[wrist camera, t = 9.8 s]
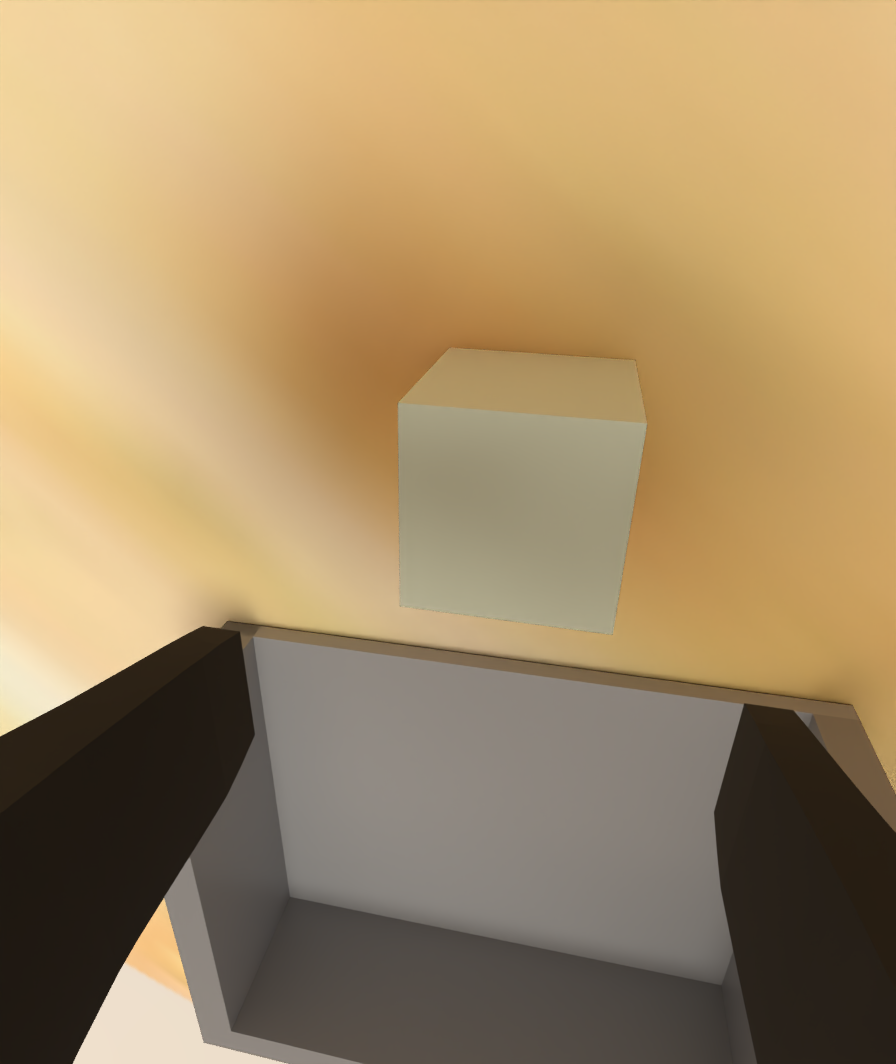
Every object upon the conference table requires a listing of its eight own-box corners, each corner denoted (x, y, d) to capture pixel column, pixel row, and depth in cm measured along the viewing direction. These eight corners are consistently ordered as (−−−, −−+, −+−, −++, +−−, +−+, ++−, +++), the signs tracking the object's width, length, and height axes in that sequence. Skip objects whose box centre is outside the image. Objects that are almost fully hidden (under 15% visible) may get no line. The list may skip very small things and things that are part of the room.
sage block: (635, 359, 16) (647, 423, 12) (610, 527, 18) (612, 634, 14) (450, 346, 17) (397, 403, 13) (446, 509, 19) (400, 606, 15)
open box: (852, 705, 19) (939, 884, 14) (746, 994, 26) (780, 1186, 21) (227, 621, 22) (121, 743, 18) (271, 896, 29) (203, 1042, 24)
